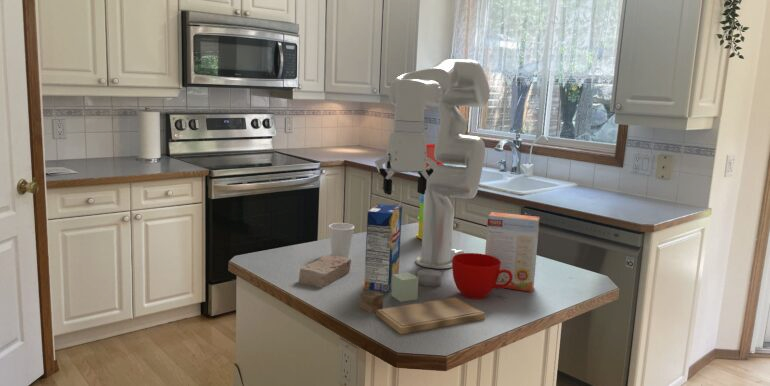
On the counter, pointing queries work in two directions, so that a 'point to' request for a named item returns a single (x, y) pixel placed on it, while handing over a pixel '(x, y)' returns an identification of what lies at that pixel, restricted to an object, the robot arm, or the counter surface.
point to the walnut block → (371, 301)
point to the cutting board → (429, 315)
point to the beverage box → (382, 246)
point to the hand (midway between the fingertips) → (404, 193)
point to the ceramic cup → (477, 274)
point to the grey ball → (429, 277)
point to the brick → (324, 270)
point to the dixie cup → (341, 238)
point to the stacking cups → (430, 154)
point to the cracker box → (513, 247)
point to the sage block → (405, 287)
